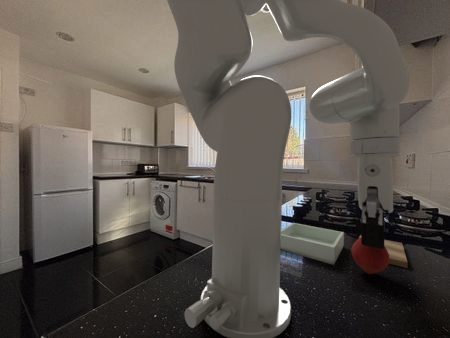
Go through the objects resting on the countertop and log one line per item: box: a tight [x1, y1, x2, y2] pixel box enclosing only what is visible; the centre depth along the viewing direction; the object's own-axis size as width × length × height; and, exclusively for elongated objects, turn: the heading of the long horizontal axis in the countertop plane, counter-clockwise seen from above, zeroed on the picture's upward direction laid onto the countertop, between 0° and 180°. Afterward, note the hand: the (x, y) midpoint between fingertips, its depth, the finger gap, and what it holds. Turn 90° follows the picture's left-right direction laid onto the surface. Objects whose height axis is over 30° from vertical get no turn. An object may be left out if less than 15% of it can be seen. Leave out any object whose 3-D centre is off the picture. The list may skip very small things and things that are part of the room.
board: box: [358, 234, 408, 269], centre depth 49 cm, size 14×9×1 cm, turn 142°
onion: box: [350, 237, 390, 275], centre depth 38 cm, size 6×6×8 cm
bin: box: [280, 222, 345, 266], centre depth 50 cm, size 13×13×4 cm
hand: (373, 238), depth 38 cm, fingers open, 9 cm apart
